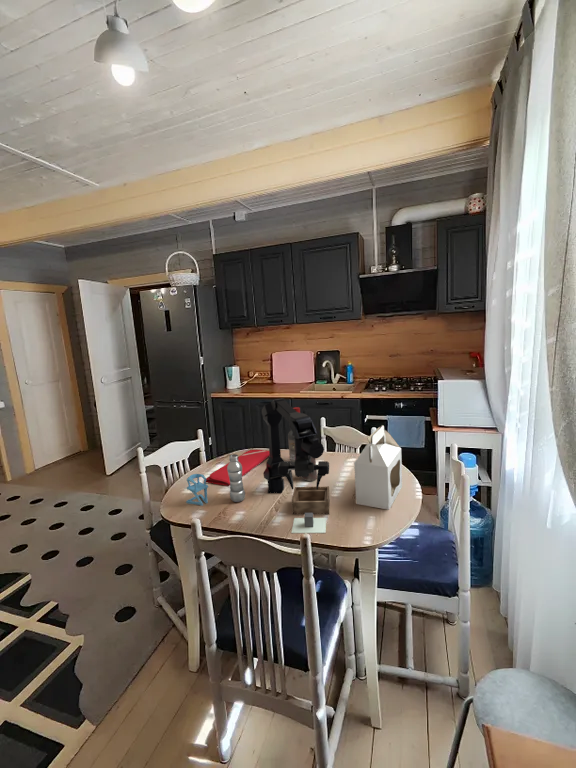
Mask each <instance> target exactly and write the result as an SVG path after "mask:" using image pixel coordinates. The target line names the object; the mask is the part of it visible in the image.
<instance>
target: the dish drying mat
mask: <svg viewBox="0 0 576 768" xmlns="http://www.w3.org/2000/svg"><path fill="white" fill-rule="evenodd" d="M269 456H270V454H269V450H266V449H250V450H247V451H245V452H244V453H242V454H240V455H239V456H238V461H239V462H240V463H241V465H242V478H243V477H244V476H246V475H247V474H248V473H249V472H251V471H252V470H253V469H255V468H257V466H259V465H260V464H261V463H263V462H264V461H265V460H266V459H267V458H269ZM228 464H229V462H228V463H226V464H225V465H222V466H221V467H220V468H218V469H217V470H215V471H213V472H211V473H210V474H209V476H207V477H205V478H206V482H208V484H212V483H213V484H214V485H217V486H223V487H230V479H229V475H228V471H227V466H228Z"/></svg>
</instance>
